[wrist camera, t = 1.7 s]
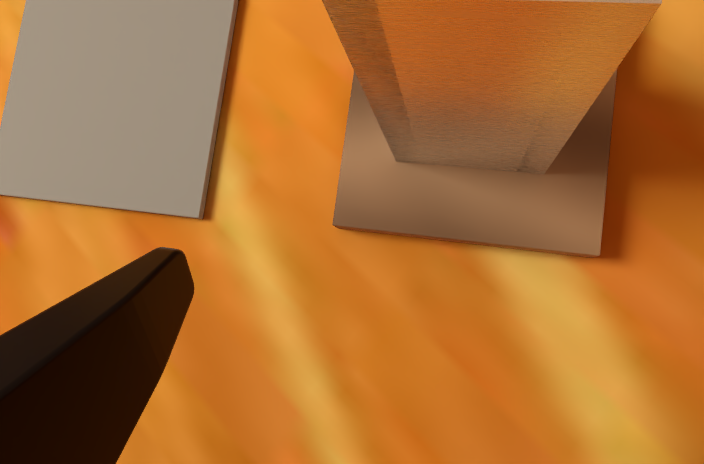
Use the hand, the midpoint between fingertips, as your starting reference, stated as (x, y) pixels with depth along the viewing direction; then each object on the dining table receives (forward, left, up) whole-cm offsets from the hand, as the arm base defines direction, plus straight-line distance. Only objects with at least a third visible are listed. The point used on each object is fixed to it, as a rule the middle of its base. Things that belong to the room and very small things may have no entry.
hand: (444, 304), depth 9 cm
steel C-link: (+7, -2, -12) cm, 14 cm away
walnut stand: (+7, -2, -13) cm, 15 cm away
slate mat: (+12, +14, -13) cm, 22 cm away
